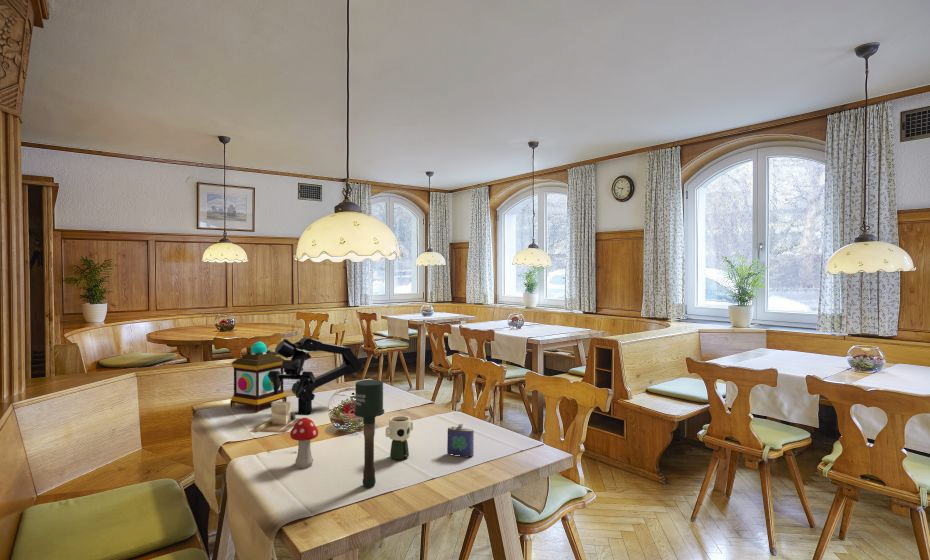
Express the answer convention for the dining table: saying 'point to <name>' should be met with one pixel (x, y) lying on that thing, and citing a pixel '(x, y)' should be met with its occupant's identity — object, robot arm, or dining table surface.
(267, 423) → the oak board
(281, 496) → the dining table surface
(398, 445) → the character mug
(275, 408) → the cream rectangular block
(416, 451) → the dining table surface
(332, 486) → the dining table surface
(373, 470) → the potato masher grenade
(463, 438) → the flask
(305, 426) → the decorative mushroom
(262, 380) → the decorative lantern
